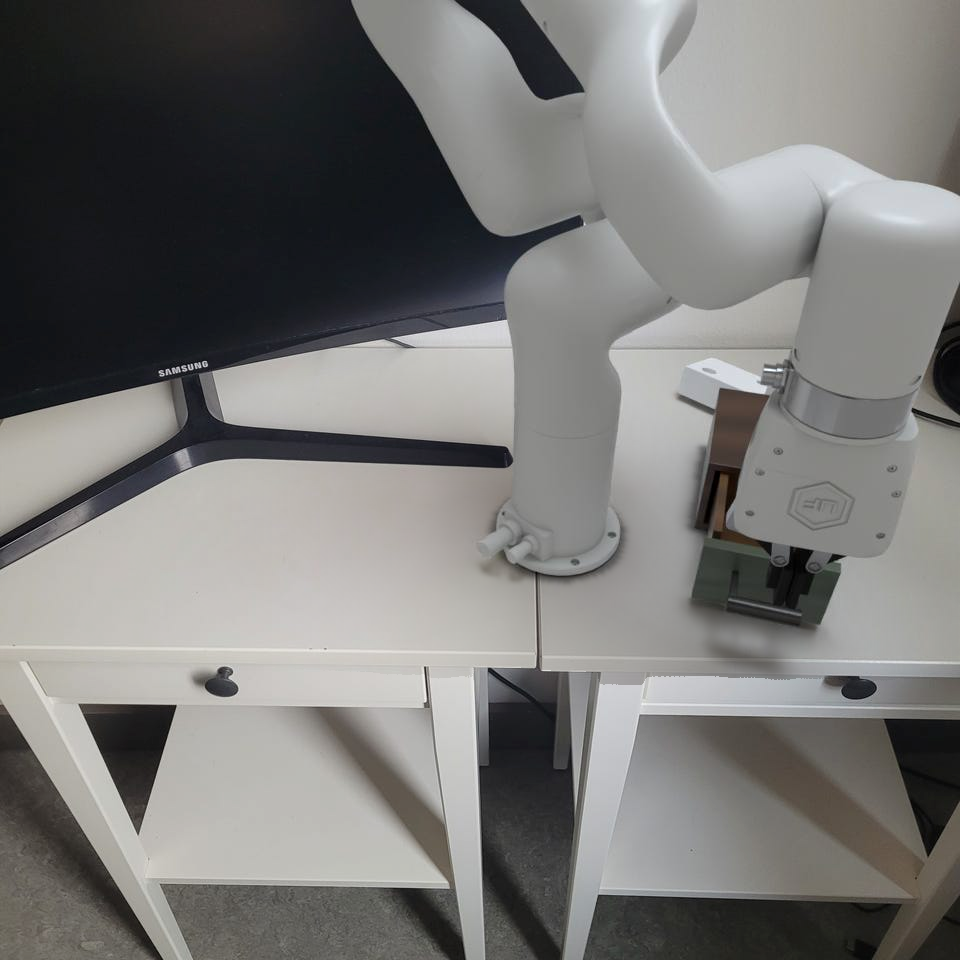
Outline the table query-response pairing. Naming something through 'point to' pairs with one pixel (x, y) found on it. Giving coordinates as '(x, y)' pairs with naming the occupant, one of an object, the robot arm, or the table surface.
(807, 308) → the robot arm
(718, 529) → the drawer
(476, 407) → the table surface
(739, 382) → the bracket
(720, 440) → the cabinet
